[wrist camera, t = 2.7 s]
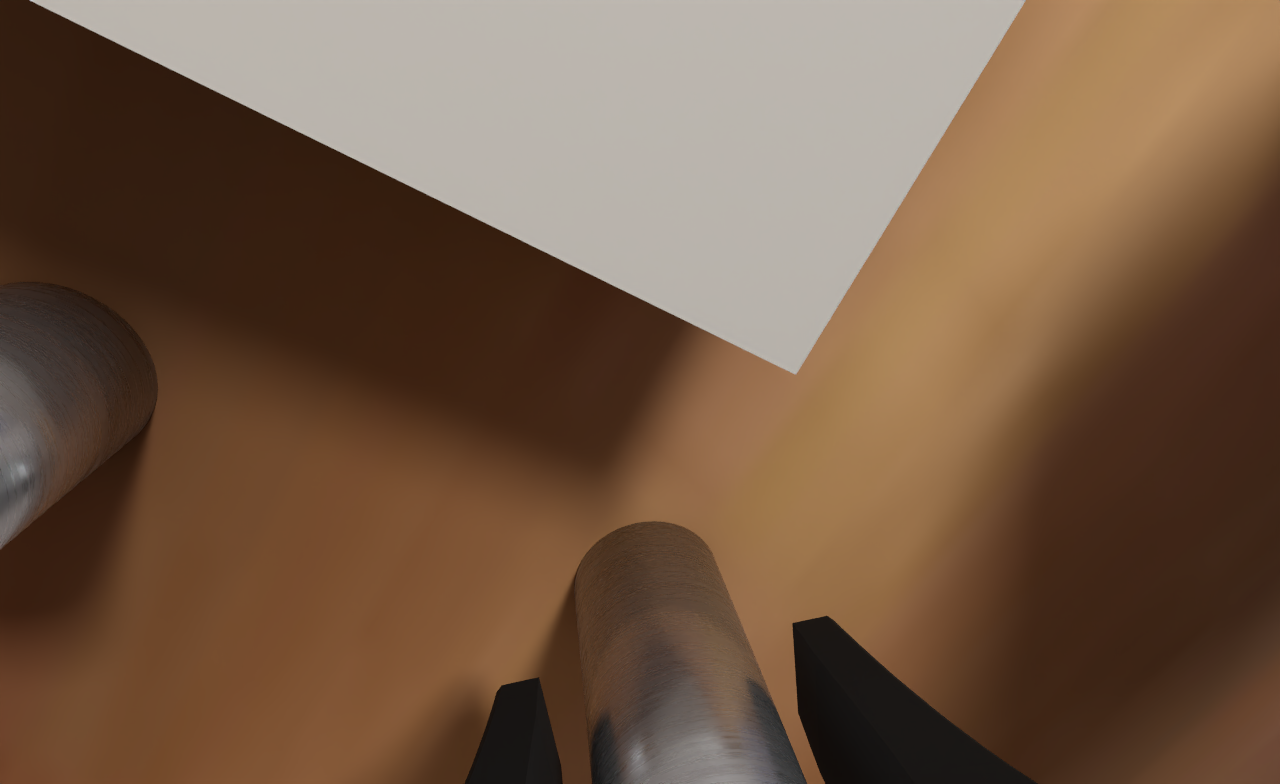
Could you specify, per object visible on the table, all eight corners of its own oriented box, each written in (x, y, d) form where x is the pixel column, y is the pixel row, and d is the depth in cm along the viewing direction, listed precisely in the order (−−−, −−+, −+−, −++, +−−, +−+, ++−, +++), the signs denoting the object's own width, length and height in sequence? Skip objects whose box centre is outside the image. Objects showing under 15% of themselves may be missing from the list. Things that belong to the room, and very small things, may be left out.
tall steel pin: (743, 550, 15) (957, 991, 7) (674, 658, 16) (804, 1153, 8) (615, 500, 14) (714, 945, 6) (549, 617, 15) (569, 1131, 7)
